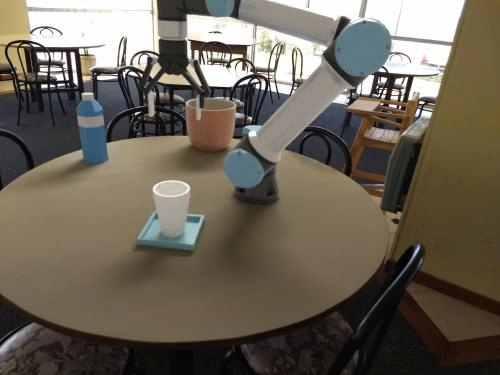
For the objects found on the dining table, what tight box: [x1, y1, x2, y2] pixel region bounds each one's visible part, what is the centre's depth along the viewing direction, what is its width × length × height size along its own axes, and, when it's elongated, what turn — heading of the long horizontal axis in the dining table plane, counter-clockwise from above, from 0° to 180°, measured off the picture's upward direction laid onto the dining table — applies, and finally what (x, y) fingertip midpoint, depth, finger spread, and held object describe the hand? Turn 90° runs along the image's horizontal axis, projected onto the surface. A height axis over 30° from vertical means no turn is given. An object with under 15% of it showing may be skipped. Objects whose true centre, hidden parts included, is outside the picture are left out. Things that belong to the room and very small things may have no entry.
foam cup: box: [152, 179, 191, 238], centre depth 99 cm, size 10×9×13 cm
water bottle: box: [76, 92, 109, 165], centre depth 138 cm, size 9×9×25 cm
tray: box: [136, 210, 205, 252], centre depth 102 cm, size 15×15×2 cm
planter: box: [185, 97, 237, 153], centre depth 159 cm, size 21×21×19 cm
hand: (175, 117), depth 108 cm, fingers open, 13 cm apart
